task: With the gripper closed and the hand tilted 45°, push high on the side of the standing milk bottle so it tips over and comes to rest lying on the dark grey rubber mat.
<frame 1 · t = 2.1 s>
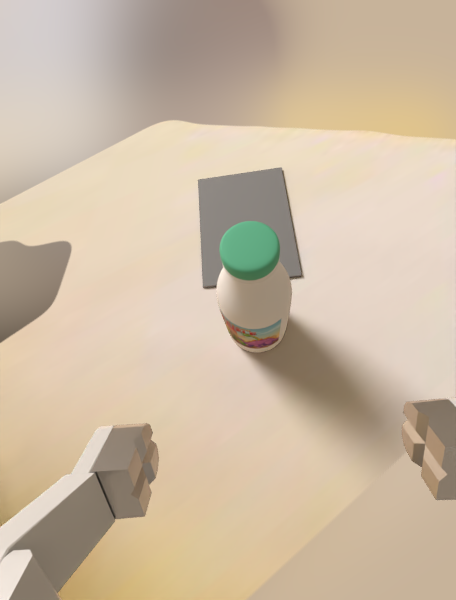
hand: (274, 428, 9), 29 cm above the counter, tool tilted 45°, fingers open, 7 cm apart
mat: (245, 224, 47), on the counter
milk bottle: (257, 325, 41), on the counter
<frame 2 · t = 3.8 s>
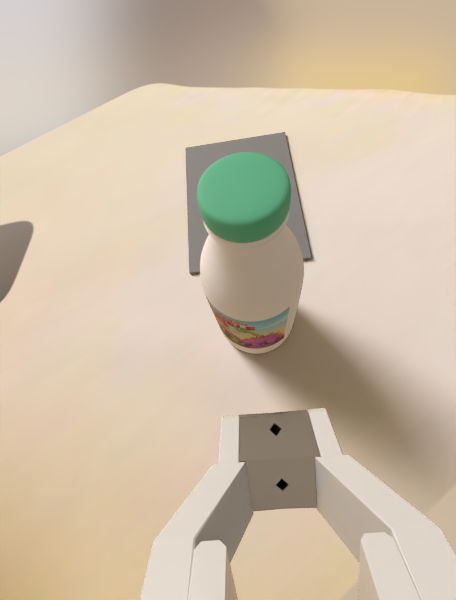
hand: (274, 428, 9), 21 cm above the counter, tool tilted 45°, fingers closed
mat: (241, 198, 39), on the counter
milk bottle: (256, 320, 33), on the counter
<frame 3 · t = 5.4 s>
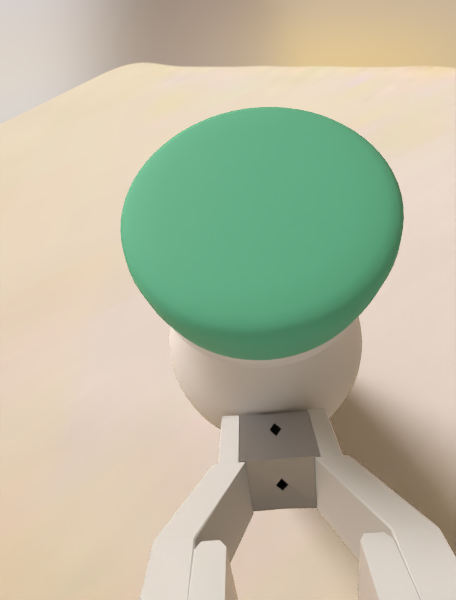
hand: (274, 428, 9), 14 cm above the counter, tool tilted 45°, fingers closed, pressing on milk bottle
milk bottle: (264, 381, 23), on the counter, touching gripper
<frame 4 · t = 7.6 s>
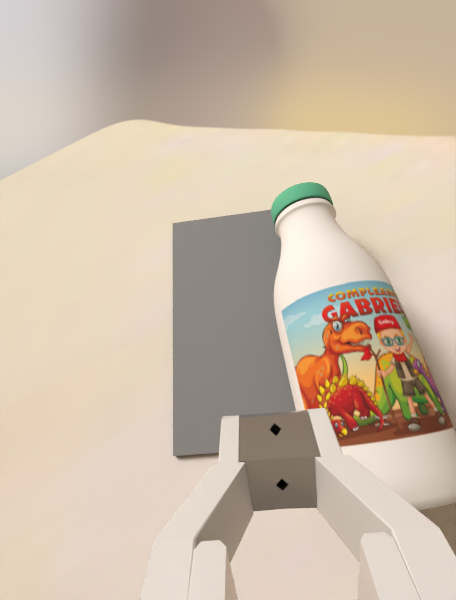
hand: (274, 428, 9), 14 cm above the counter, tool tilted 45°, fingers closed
mat: (257, 314, 25), on the counter
milk bottle: (394, 501, 16), point 4 cm above the counter, touching mat
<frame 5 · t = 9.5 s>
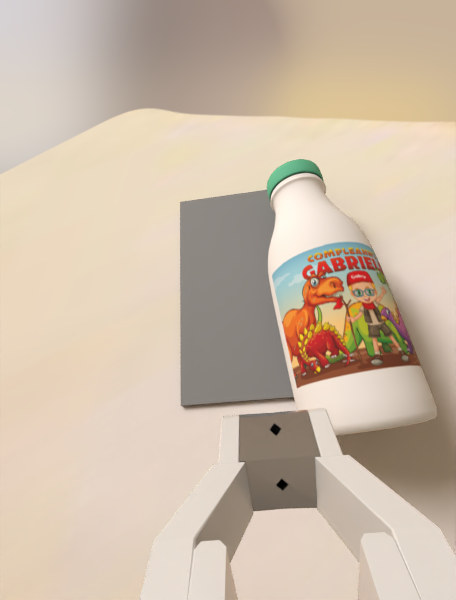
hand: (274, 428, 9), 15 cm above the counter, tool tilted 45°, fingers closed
mat: (257, 282, 27), on the counter
milk bottle: (369, 433, 18), point 4 cm above the counter, touching mat
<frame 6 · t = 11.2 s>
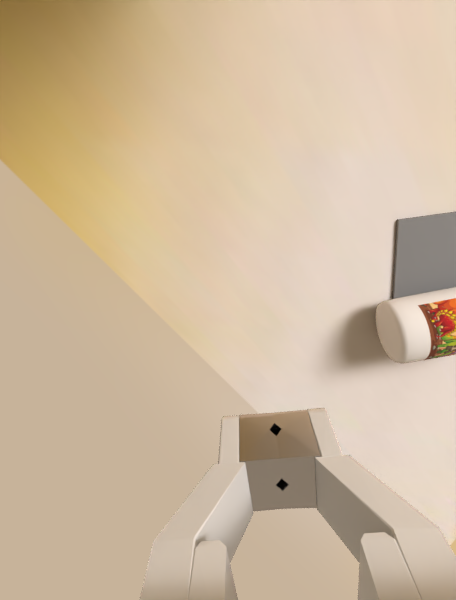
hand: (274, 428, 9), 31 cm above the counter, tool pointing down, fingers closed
milk bottle: (385, 332, 37), point 4 cm above the counter, touching mat
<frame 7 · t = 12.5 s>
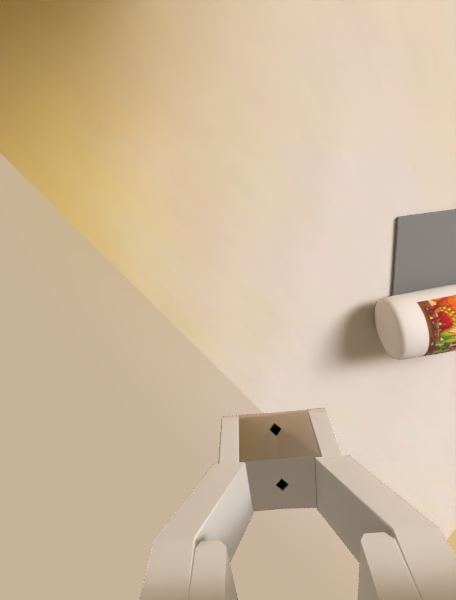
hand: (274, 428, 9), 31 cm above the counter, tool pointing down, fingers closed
milk bottle: (384, 329, 37), point 4 cm above the counter, touching mat
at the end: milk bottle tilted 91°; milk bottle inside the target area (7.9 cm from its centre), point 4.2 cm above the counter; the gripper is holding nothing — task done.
